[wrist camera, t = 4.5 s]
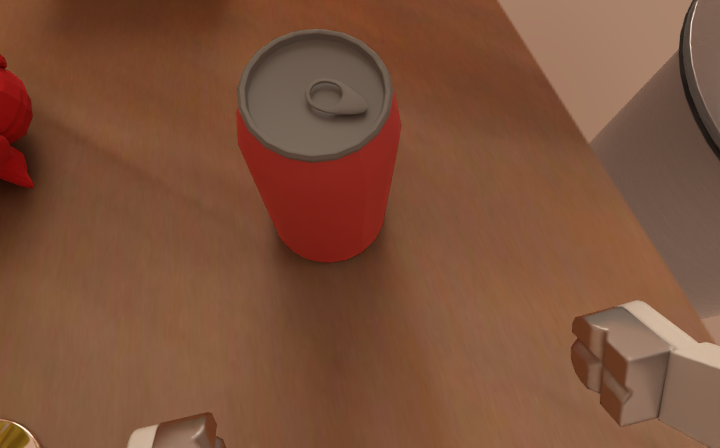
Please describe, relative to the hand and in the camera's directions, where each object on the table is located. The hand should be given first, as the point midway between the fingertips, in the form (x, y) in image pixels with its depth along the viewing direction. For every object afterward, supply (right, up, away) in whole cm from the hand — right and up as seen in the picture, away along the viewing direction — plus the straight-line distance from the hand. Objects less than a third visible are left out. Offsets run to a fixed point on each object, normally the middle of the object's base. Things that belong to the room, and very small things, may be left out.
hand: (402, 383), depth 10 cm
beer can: (-3, +4, +18) cm, 19 cm away
